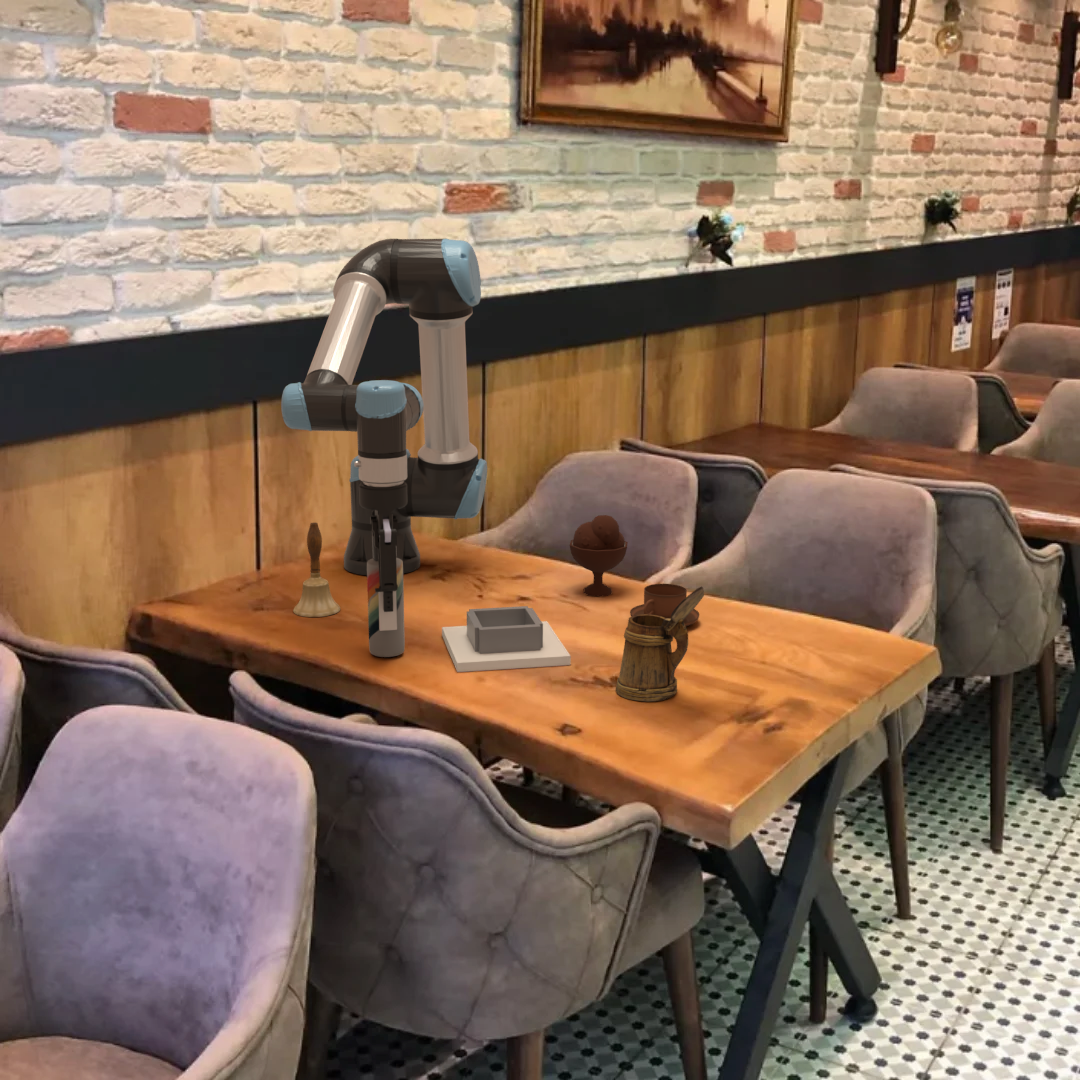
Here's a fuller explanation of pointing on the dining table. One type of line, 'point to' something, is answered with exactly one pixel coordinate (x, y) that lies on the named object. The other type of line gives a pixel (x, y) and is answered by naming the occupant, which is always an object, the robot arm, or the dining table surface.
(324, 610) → the hand bell
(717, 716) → the dining table surface
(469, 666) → the bottle holder
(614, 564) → the ice cream bowl
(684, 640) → the wooden mug
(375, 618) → the lotion bottle
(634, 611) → the cup and saucer
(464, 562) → the dining table surface
